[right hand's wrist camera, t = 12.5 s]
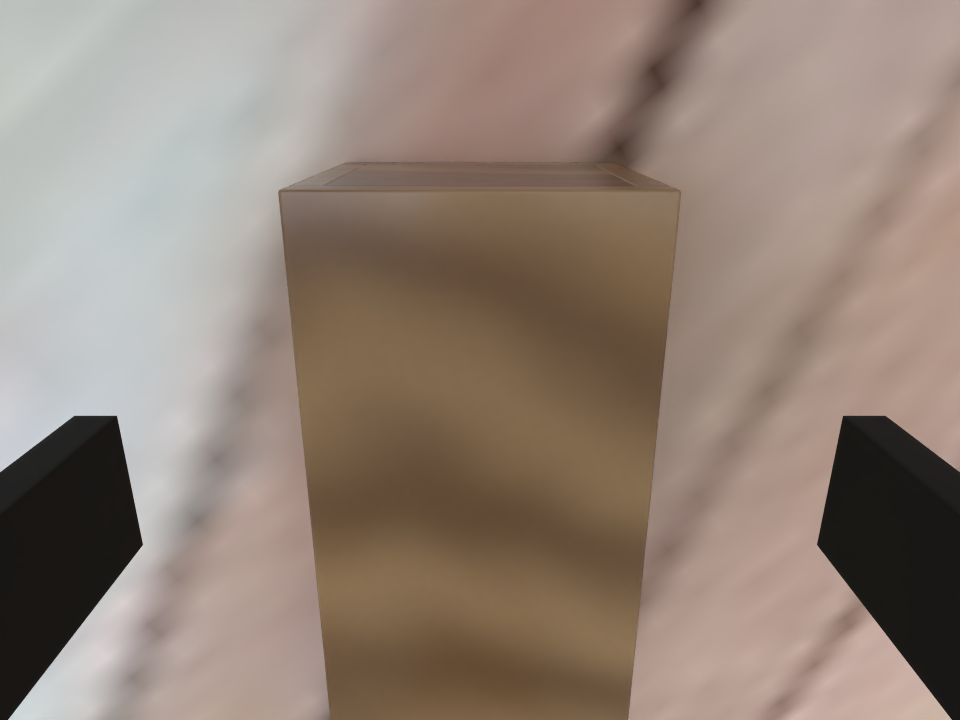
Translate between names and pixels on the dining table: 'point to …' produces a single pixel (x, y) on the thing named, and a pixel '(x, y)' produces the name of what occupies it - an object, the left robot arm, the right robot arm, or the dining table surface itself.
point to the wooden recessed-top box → (479, 429)
